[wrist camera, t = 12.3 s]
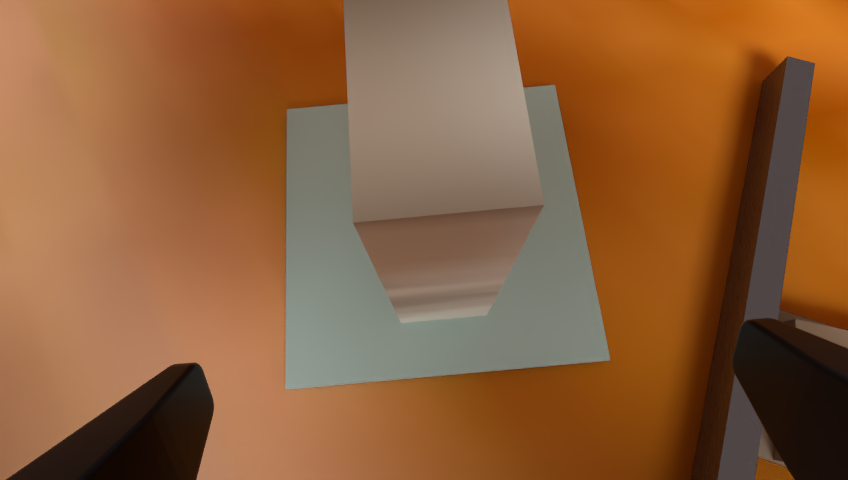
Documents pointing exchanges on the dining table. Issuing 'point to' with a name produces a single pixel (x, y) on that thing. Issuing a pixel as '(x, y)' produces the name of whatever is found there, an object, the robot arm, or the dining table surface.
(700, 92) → the dining table surface
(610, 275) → the dining table surface
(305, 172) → the mat
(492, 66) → the beige rectangular block
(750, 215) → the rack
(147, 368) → the dining table surface
